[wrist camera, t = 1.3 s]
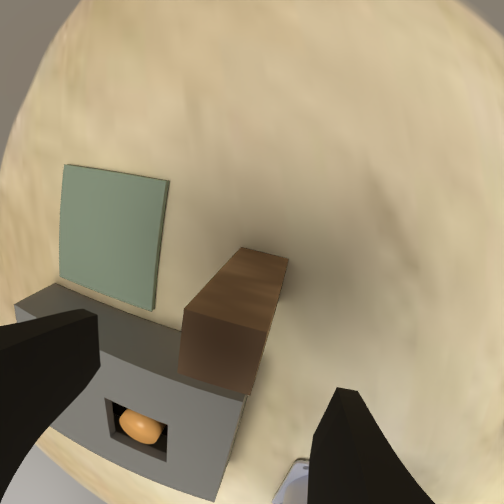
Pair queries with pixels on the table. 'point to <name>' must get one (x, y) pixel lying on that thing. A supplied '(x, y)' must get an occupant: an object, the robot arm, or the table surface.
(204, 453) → the panel
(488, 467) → the table surface
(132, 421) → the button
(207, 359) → the wooden peg
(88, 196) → the mat
